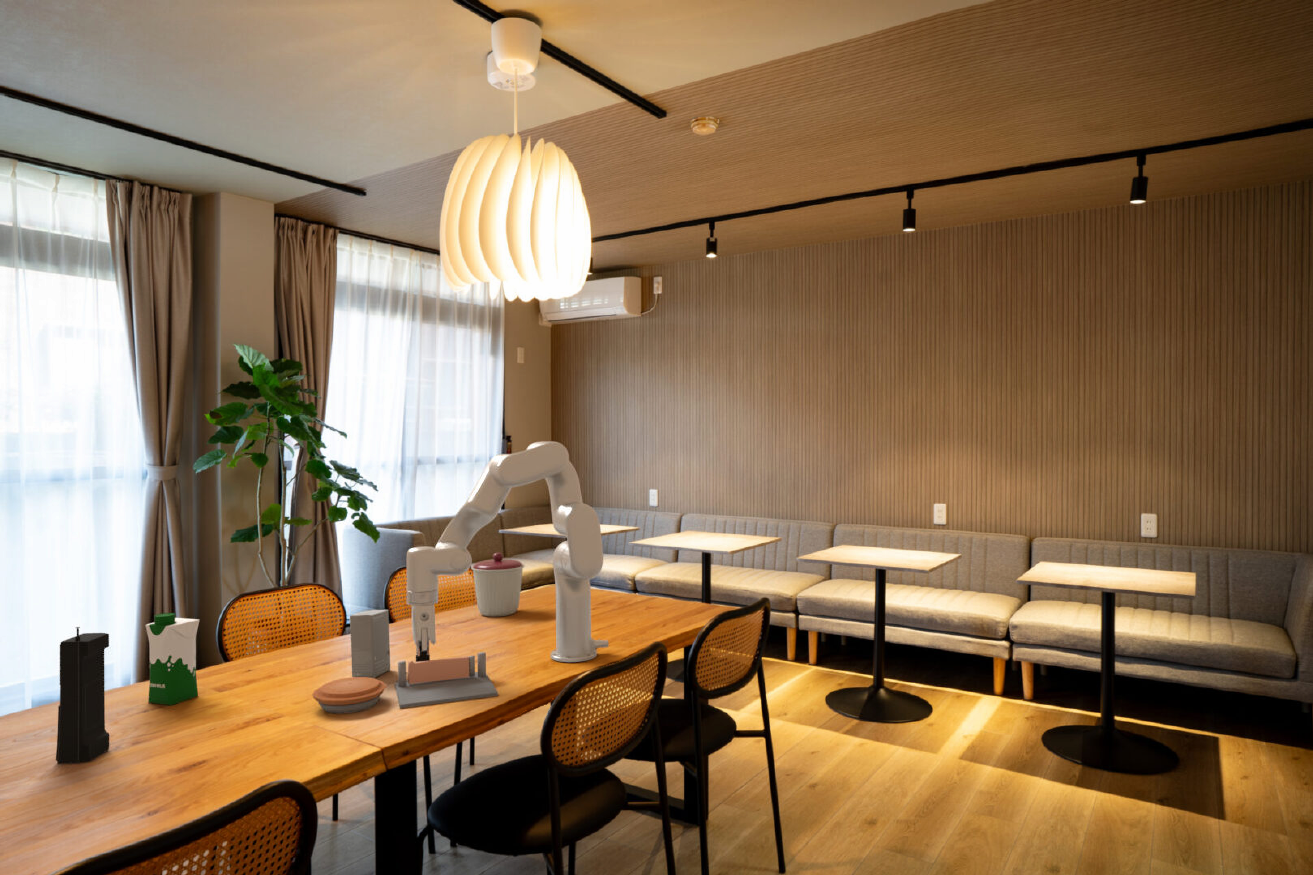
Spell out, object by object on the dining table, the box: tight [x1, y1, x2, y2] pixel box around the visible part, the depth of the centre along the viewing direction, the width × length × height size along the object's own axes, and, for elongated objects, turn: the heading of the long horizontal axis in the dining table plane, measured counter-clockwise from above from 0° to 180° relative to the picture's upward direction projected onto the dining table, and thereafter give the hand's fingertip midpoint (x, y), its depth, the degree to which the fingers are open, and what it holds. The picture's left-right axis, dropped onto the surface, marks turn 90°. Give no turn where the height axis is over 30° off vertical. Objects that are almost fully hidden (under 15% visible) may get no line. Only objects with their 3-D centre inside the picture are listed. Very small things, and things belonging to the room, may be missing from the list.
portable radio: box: [55, 626, 110, 765], centre depth 148 cm, size 8×6×25 cm
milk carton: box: [145, 612, 200, 706], centre depth 181 cm, size 9×9×20 cm
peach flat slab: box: [407, 655, 476, 684], centre depth 190 cm, size 16×1×5 cm, turn 112°
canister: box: [470, 552, 525, 617], centre depth 270 cm, size 18×18×21 cm
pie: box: [312, 677, 387, 714], centre depth 176 cm, size 15×16×5 cm
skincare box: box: [349, 609, 391, 679], centre depth 200 cm, size 8×7×16 cm
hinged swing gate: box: [394, 651, 499, 709], centre depth 185 cm, size 22×18×6 cm
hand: (422, 670), depth 194 cm, fingers closed
